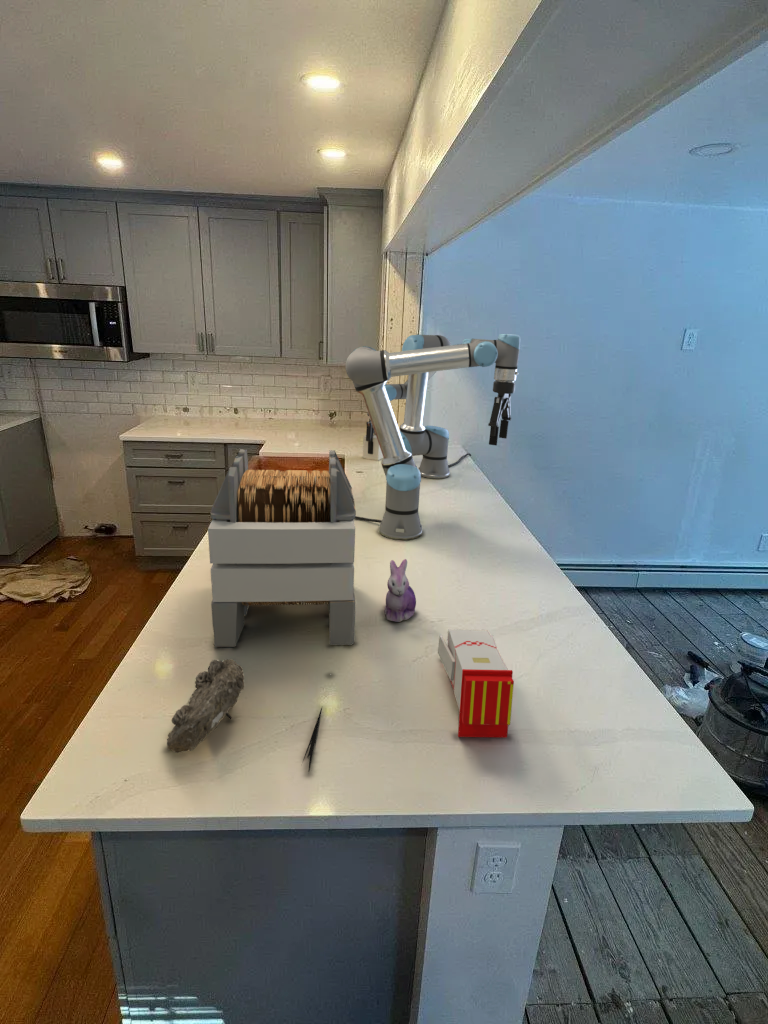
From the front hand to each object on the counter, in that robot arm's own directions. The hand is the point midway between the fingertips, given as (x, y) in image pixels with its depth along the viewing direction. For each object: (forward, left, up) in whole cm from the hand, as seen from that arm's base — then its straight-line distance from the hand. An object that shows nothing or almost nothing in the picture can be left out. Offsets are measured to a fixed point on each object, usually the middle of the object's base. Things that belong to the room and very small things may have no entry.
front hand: (497, 441), depth 203 cm
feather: (+50, -112, -31) cm, 126 cm away
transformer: (+12, -95, -31) cm, 101 cm away
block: (-99, +25, -31) cm, 107 cm away
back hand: (-99, +25, -28) cm, 106 cm away
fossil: (+37, -127, -31) cm, 136 cm away
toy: (+63, -82, -31) cm, 108 cm away
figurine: (+30, -73, -31) cm, 85 cm away
